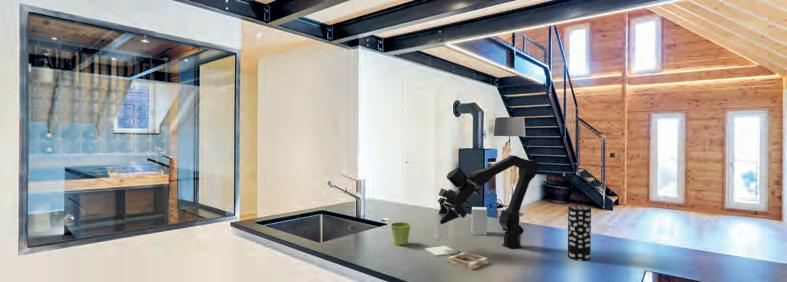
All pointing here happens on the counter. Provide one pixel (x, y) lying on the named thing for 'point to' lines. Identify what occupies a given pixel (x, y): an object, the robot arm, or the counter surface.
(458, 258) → the oak socket frame
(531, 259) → the counter surface
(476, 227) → the supplement box
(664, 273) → the counter surface
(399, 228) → the plant pot
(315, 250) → the counter surface
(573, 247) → the white-spotted black cylinder
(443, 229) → the steel cap block
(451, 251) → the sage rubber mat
